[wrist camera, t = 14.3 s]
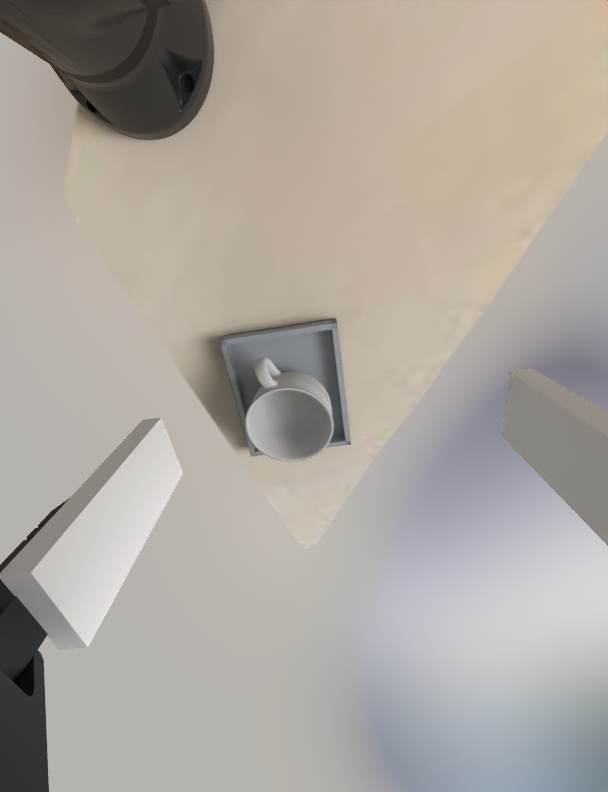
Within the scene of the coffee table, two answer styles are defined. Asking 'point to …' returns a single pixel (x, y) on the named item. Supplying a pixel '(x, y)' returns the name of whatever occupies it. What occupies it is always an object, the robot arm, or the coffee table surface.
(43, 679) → the robot arm
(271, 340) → the tray
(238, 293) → the coffee table surface
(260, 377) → the teacup
